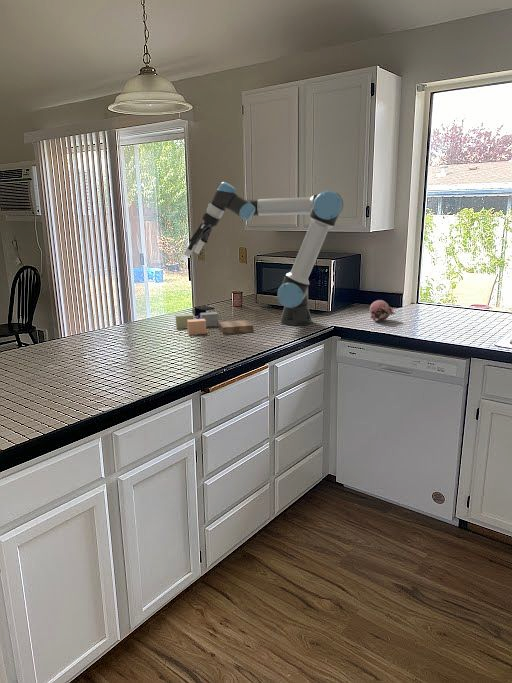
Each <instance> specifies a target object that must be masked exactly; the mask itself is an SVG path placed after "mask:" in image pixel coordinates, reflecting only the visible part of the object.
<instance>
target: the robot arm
mask: <svg viewBox="0 0 512 683" xmlns="http://www.w3.org/2000/svg"><path fill="white" fill-rule="evenodd" d="M236 192H237V189H236V187H234V186H233V185H231V184H230V183H228V182H226V181H222V182H220V185H219V186H218V188H217V189H216V190H215V193H214V195H213V196H212V199H211V200H210V203H208V204H207V208H206V211H204V213H203V215H202V220H203V221H204V222H203V223H200V225H199V227H198V228H197V229H196V231H195V232H194V233H193V235H192V236H191V238H190V239H189V240H188V242H189V244H188V246H187V248H186V250H185V252H184V253H183V254H184V255H185V256H186V257H187V258H190V257H191V255H192V253H193V252H194V253H196V254H197V255H199V254H200V253H201V251H202V248H203V247H204V245H205V243H206V244H207V243H208V242H209V241H208V240H209V237H210V235H211V233H212V230H213V228H214V227H216V226H217V225H218V224H219V223H220V219H222V216H223V215H224V213H225V211H226V209H228V210H229V211H230V212H232V213H233V214H235V215H236V216H237V217H239V218H240V219H243V220H244V221H246V222H248V221H250V220H251V219H252V217H254V216H256V217H257V216H284V215H285V216H288V215H289V216H290V215H292V216H293V215H309V219H310V223H309V225H308V228H307V231H306V233H305V236H304V238H303V239H302V240H303V241H302V243H301V245H300V248H299V250H298V253H297V254H296V255H297V256H296V257H295V260H294V262H293V265H292V268H291V270H290V271H289V272H287V273H286V274H285V276H284V277H283V280H282V283H281V285H280V286H279V288H278V289H277V293H276V294H277V300H278V301H279V303H280V304H281V305H282V306H283V310H282V312H281V316H280V323H281V324H283V325H287V326H305V325H310V324H311V323H312V320H313V319H312V318H313V317H312V315H311V311H310V308H309V286H310V281H309V277H310V275H311V273H312V270H313V268H314V266H315V263H316V261H317V258H318V256H319V254H320V252H321V249H322V247H323V244H324V242H325V239H326V238H327V234H328V232H329V230H330V229H332V228H334V227H335V225H336V222H337V220H338V217H339V216H340V214H341V212H343V208H344V201H343V198H342V196H341V195H340V194H339V193H337V192H335V191H333V190H324V191H322V192H320V193H319V194H313V195H312V196H309V197H307V196H305V197H284V198H283V197H282V198H281V197H280V198H279V197H278V198H260V199H259V198H257V199H256V198H253V199H249V198H248V199H244V198H243V197H241V196H239V195H237V193H236Z"/></svg>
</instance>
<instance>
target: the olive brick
mask: <svg viewBox="0 0 512 683" xmlns="http://www.w3.org/2000/svg"><path fill="white" fill-rule="evenodd" d="M192 319H194V315H193V313H180V314H175V327H176V329H179V330H180V329H188V328H187V320H192Z"/></svg>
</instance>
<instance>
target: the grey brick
mask: <svg viewBox="0 0 512 683" xmlns="http://www.w3.org/2000/svg"><path fill="white" fill-rule="evenodd" d="M207 312H208V311H207ZM207 312H206V313H200V319H205V320H206V328H207V327H218V322H219V313H218V312H216V311H212V312H208V313H207Z"/></svg>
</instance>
